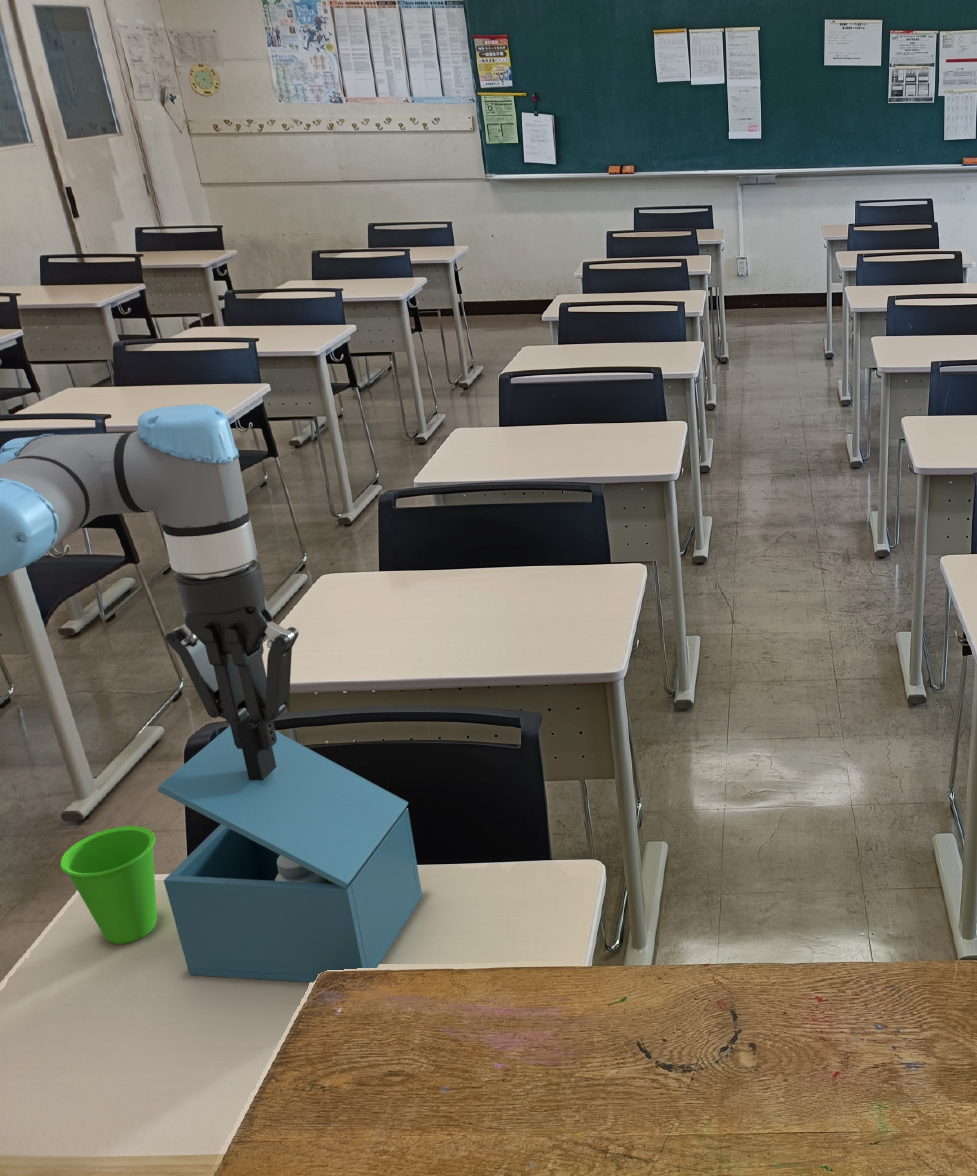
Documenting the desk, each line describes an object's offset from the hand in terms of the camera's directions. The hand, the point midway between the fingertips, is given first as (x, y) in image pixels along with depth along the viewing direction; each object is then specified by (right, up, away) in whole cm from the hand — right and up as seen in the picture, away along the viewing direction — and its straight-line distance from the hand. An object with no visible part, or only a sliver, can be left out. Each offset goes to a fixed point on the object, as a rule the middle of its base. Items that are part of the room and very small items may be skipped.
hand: (262, 773), depth 111 cm
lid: (+2, -3, +1) cm, 4 cm away
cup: (-19, -20, +9) cm, 29 cm away
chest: (+2, -20, +8) cm, 21 cm away
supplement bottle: (+2, -19, +7) cm, 20 cm away
